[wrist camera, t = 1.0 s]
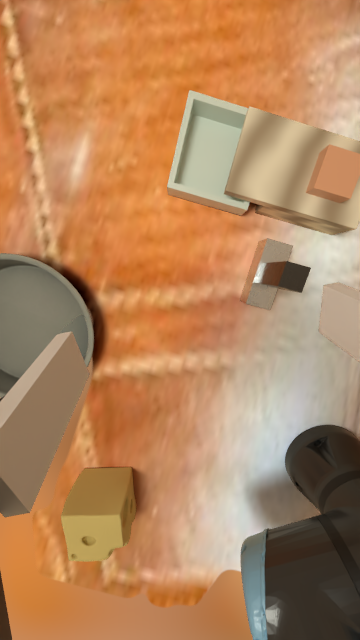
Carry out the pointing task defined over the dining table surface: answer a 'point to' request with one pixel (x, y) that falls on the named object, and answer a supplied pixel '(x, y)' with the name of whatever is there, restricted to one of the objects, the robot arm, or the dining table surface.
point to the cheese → (99, 513)
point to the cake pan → (36, 315)
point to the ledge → (288, 172)
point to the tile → (335, 174)
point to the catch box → (207, 153)
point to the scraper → (272, 274)
